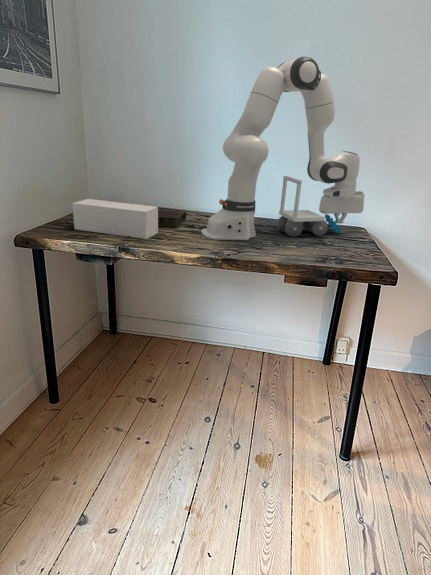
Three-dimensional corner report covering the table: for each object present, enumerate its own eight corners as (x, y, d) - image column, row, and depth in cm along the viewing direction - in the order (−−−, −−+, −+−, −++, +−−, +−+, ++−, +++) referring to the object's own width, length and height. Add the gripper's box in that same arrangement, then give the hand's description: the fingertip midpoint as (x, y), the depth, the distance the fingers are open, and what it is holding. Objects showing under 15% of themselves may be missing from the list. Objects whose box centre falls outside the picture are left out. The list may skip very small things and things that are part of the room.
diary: (133, 217, 194) (133, 206, 192) (185, 221, 191) (186, 210, 190) (120, 225, 177) (120, 214, 175) (177, 230, 174) (177, 218, 172)
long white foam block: (158, 233, 167) (158, 206, 163) (146, 239, 158) (146, 211, 154) (89, 224, 176) (87, 198, 172) (74, 229, 166) (72, 203, 162)
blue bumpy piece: (337, 232, 175) (324, 213, 177) (326, 240, 179) (313, 221, 180) (343, 230, 185) (331, 212, 186) (332, 238, 188) (320, 220, 189)
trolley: (288, 238, 168) (295, 180, 159) (274, 230, 181) (279, 175, 172) (328, 237, 174) (337, 180, 165) (312, 228, 186) (320, 175, 177)
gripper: (360, 190, 181) (355, 221, 186) (319, 190, 175) (315, 222, 181) (369, 192, 176) (363, 224, 181) (327, 192, 170) (322, 225, 175)
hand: (339, 223), depth 181 cm, fingers closed
